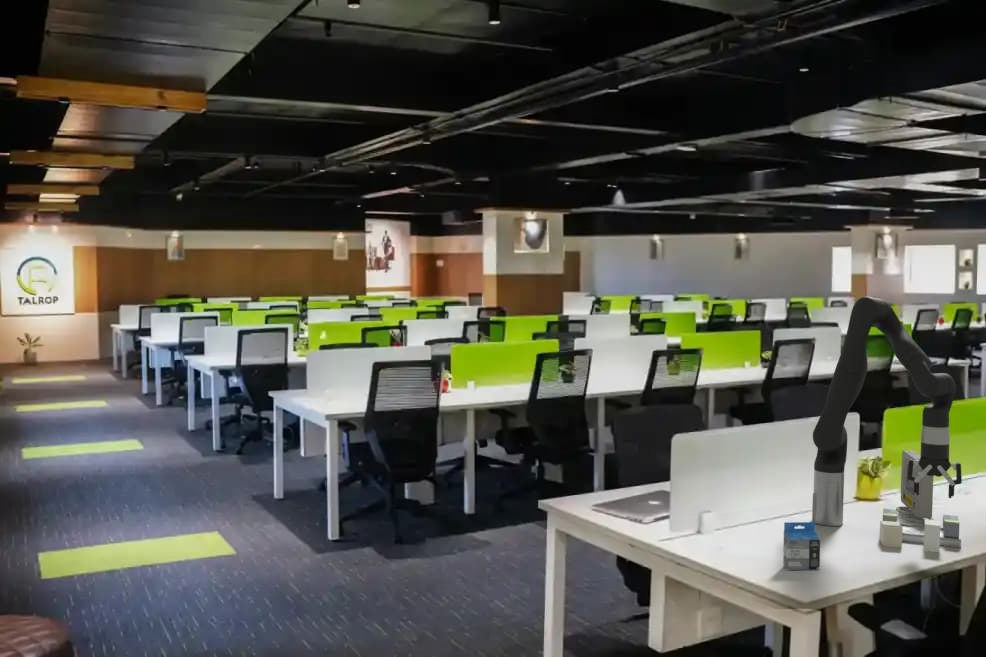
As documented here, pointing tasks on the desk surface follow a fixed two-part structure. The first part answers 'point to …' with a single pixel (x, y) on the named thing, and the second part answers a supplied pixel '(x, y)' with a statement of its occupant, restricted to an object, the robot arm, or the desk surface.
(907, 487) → the network device
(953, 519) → the grey base with blocks
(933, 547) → the block
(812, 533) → the label tape box
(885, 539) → the block
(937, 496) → the desk surface
